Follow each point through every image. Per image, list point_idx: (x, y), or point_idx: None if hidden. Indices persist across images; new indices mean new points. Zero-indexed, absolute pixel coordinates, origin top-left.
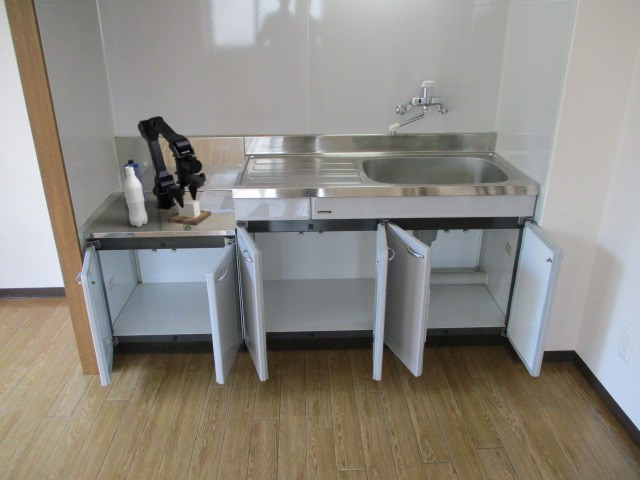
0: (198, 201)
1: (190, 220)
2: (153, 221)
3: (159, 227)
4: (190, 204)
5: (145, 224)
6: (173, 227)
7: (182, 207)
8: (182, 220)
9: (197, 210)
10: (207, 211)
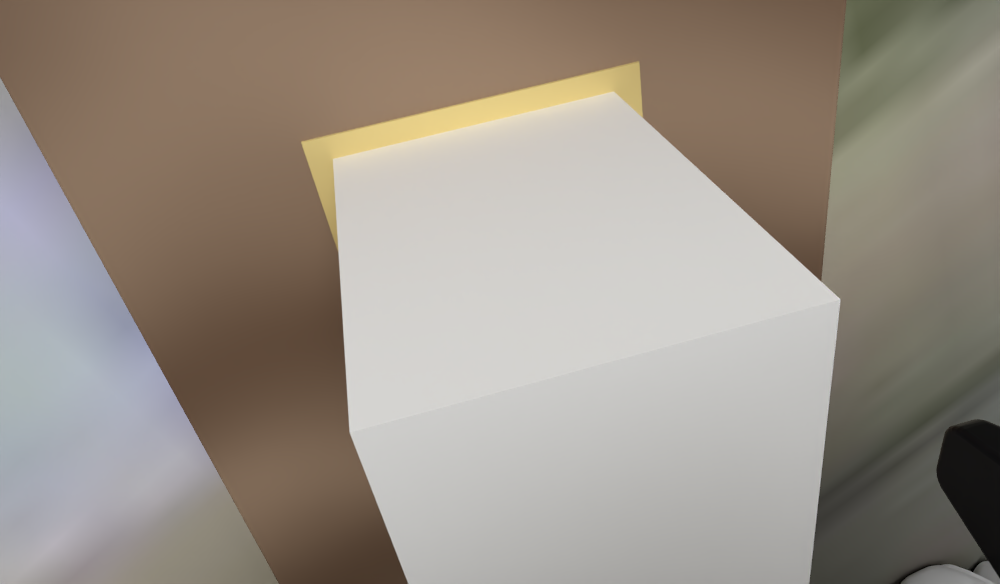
0: (375, 404)
1: (809, 55)
2: (813, 576)
3: (997, 382)
4: (819, 396)
5: (931, 566)
6: (982, 208)
7: (980, 443)
8: (821, 231)
9: (483, 190)
10: (60, 106)
